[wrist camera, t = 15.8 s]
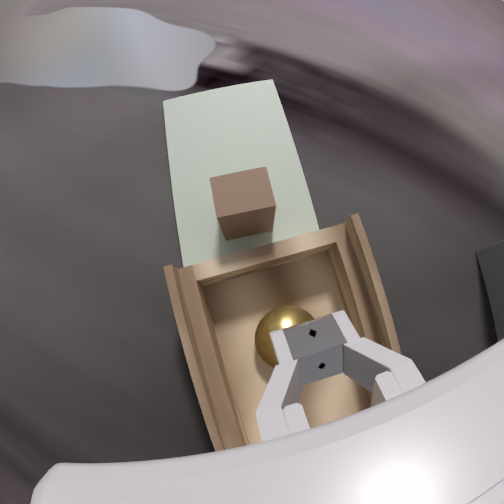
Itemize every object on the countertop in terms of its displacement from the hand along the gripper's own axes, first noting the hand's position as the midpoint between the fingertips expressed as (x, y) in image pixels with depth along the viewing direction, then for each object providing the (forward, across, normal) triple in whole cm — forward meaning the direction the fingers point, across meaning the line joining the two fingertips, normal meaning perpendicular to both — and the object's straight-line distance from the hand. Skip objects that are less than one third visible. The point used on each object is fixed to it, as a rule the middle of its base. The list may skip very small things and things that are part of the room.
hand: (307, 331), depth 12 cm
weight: (+9, 0, +10) cm, 14 cm away
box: (+7, 0, +13) cm, 15 cm away
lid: (+21, 0, 0) cm, 21 cm away
